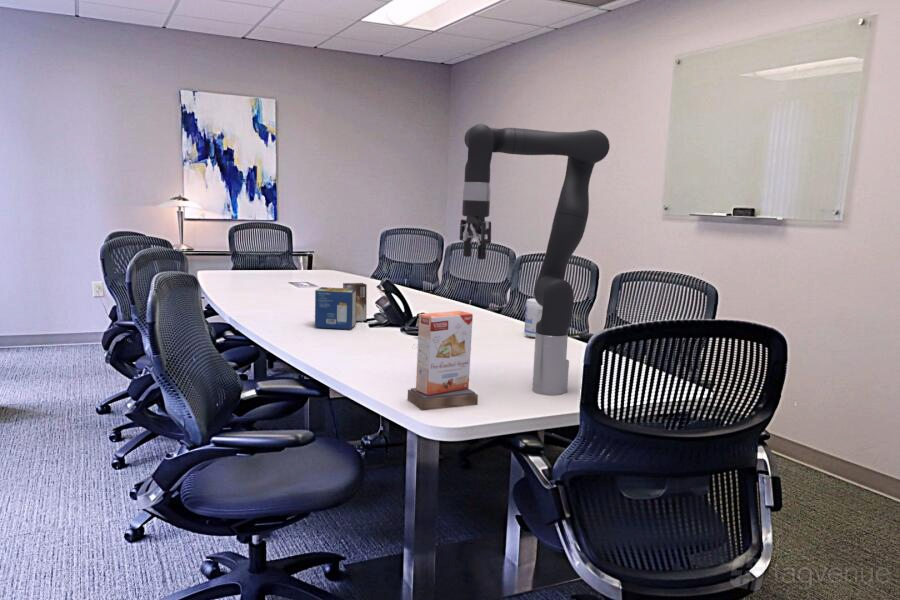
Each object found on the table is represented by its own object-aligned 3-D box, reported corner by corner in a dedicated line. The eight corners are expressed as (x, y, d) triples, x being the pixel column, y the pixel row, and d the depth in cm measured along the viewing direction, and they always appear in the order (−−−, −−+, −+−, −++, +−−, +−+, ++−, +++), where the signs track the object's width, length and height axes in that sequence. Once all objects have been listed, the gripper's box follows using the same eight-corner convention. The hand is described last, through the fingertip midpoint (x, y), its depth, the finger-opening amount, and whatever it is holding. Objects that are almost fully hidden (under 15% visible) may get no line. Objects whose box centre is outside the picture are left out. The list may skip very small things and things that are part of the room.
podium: (460, 395, 191) (461, 383, 190) (477, 405, 182) (477, 392, 181) (407, 400, 184) (407, 388, 183) (422, 411, 175) (422, 398, 174)
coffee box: (362, 318, 306) (363, 282, 303) (366, 320, 300) (367, 284, 297) (342, 318, 302) (342, 282, 299) (346, 321, 296) (346, 284, 294)
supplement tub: (519, 334, 282) (521, 298, 280) (537, 332, 287) (538, 297, 285) (534, 338, 274) (536, 302, 272) (552, 336, 279) (554, 301, 277)
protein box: (320, 323, 290) (320, 286, 288) (356, 324, 290) (356, 288, 287) (314, 327, 280) (314, 290, 278) (351, 329, 279) (351, 291, 277)
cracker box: (428, 396, 176) (431, 316, 173) (415, 391, 180) (417, 313, 177) (470, 389, 184) (473, 312, 181) (456, 384, 189) (459, 309, 186)
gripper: (501, 200, 184) (498, 260, 186) (476, 199, 196) (474, 255, 199) (476, 199, 180) (473, 260, 183) (452, 198, 193) (450, 255, 195)
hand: (473, 257), depth 191 cm, fingers open, 8 cm apart
